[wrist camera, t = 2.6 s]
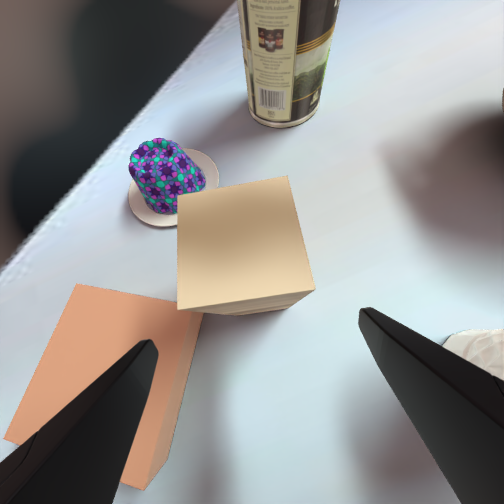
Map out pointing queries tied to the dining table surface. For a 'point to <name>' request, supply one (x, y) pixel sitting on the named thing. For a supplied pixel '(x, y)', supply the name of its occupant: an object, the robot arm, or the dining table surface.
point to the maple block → (241, 250)
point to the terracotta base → (104, 356)
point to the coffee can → (285, 56)
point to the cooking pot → (503, 101)
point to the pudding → (166, 178)
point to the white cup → (480, 349)
